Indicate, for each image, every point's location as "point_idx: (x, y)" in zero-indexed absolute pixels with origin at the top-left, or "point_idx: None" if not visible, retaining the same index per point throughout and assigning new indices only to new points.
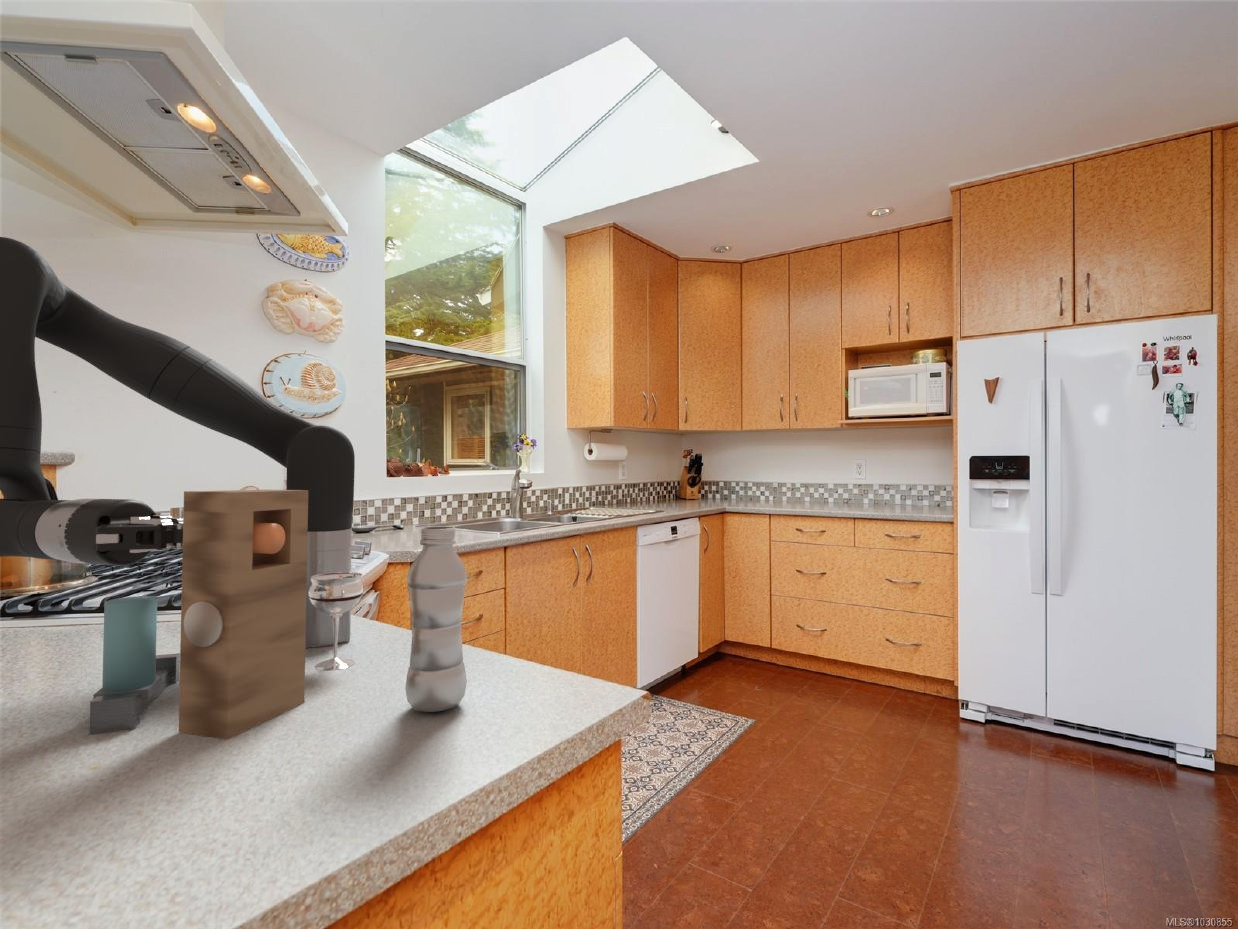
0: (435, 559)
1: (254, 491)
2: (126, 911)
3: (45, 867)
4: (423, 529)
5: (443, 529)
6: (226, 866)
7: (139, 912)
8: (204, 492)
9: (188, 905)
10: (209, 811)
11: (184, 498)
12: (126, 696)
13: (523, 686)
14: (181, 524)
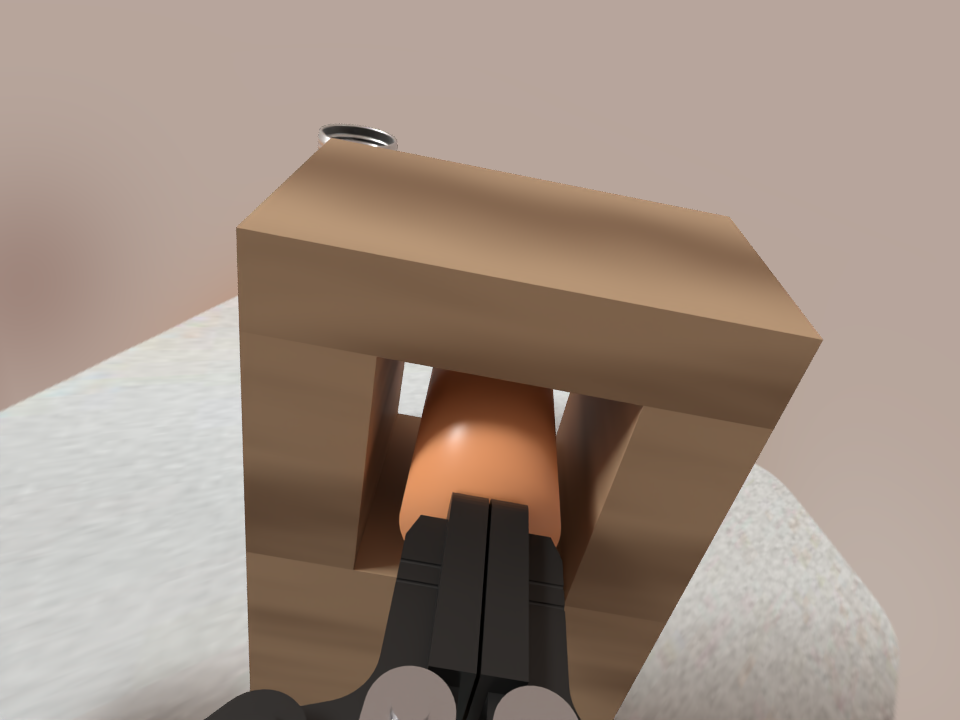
0: None
1: (604, 200)
2: (826, 547)
3: (863, 677)
4: (388, 148)
5: (387, 134)
6: (746, 511)
7: (820, 537)
8: (772, 278)
9: (791, 509)
10: (699, 583)
11: (802, 371)
12: None
13: (233, 369)
14: (546, 714)
